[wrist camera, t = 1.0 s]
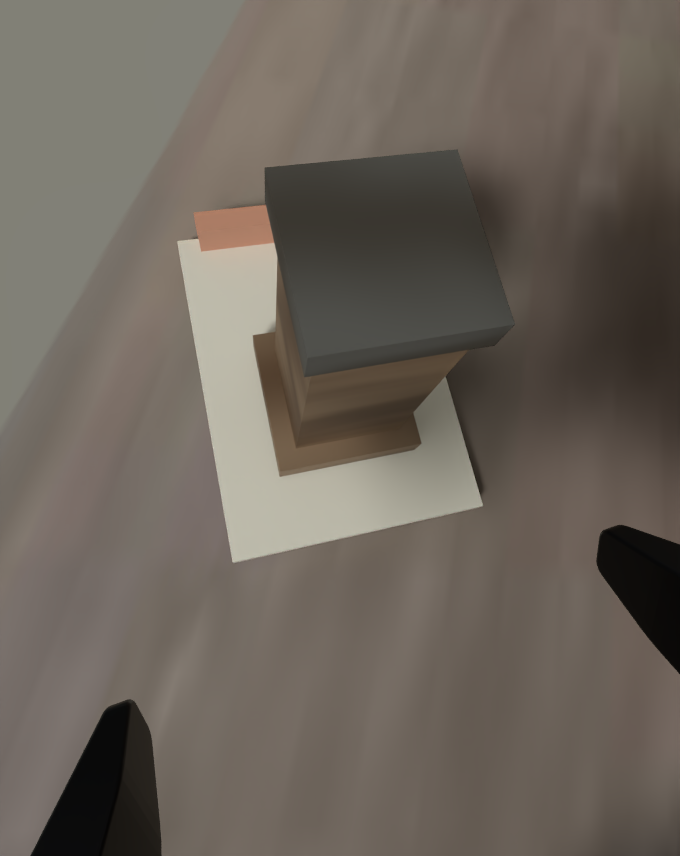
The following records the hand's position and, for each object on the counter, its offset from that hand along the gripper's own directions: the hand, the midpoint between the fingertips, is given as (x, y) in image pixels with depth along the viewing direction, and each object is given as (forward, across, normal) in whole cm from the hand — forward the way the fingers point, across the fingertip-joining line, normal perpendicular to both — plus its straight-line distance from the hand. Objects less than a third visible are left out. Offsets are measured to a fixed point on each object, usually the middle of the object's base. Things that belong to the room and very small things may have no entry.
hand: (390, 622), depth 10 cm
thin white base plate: (+16, -3, +2) cm, 17 cm away
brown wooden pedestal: (+14, -3, +2) cm, 15 cm away
